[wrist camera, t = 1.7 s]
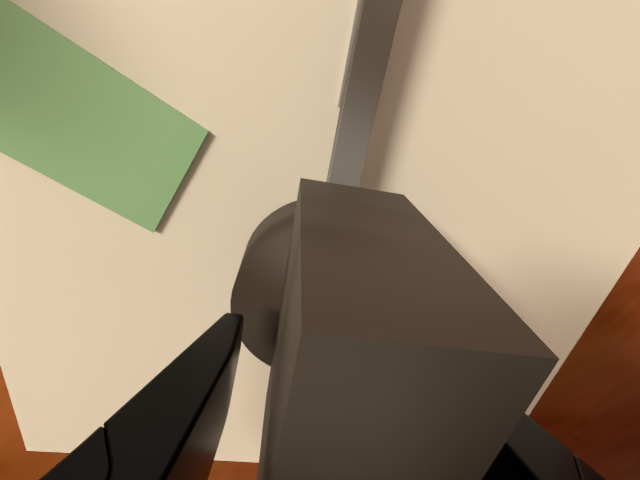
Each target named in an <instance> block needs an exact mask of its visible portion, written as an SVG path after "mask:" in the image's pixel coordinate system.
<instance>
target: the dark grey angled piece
mask: <svg viewBox="0 0 640 480" xmlns="http://www.w3.org/2000/svg"><path fill="white" fill-rule="evenodd" d="M402 1H403V0H361V2H360V8H359V13H358V18H357V23H356V29H355V34H354V39H353V44H352V50H351V55H350V60H349V65H348V70H347V76H346V81H345V86H344V91H343V97H342V102H341V107H340V112H339V117H338V123H337V128H336V133H335V138H334V144H333V149H332V154H331V159H330V165H329V170H328V175H327V180H326V182H323V181H317V180H311V179H305V178H300V184H299V190H298V197H297V201H294V202H291V203H289V204H286V205H284V206H282V207H280V208H279V209H277V210H275V211H274V212H272V213H271V214H270V215H268V216H267V217H266V218H265V219H264V220H263V221H262V222H261V223H260V224H259V225H258V226H257V228H256V229H255V231H254V232H253V233H252V235H251V237H250V239H249V241H248V244H247V247H246V250H245V253H244V256H243V259H242V262H241V265H240V268H239V271H238V274H237V277H236V280H235V283H234V286H233V289H232V294H231V300H230V311H231V313H235V314H242V315H243V317H244V321H243V331H242V343H243V344H244V345H245V347H246V348H247V349H248V350H249V351H250V352H251V353H252V354H253V355H254V356H255V357H257V358H258V359H259V360H260V361H262V362H264V363H265V364H267V365H268V366H270V367H271V369H270V375H269V381H268V388H267V394H266V402H265V411H264V420H263V429H262V439H261V448H260V457H259V466H258V476H257V480H482V478H483V477H484V475H485V474H486V472H487V471H488V469H489V468H490V466H491V464H492V463H493V461H494V460H495V458H496V457H497V455H498V454H499V452H500V450H501V449H502V447H503V446H504V444H505V443H506V441H507V440H508V438H509V437H510V435H511V433H512V432H513V430H514V429H515V427H516V426H517V424H518V423H519V421H520V420H521V418H522V416H523V415H524V413H525V412H526V410H527V409H528V407H529V406H530V404H531V402H532V401H533V399H534V398H535V396H536V395H537V393H538V392H539V390H540V389H541V387H542V385H543V384H544V382H545V381H546V379H547V378H548V376H549V375H550V373H551V372H552V370H553V368H554V367H555V365H556V364H557V362H558V361H559V358H558V357H557V356H556V355H555V354H554V353H553V352H552V351H551V350H550V348H549V347H548V346H547V345H546V344H545V343H544V342H543V341H542V340H541V339H540V338H539V337H538V336H537V335H536V334H535V333H534V332H533V331H532V329H531V328H530V327H529V326H528V325H527V324H526V323H525V322H524V321H523V320H522V319H521V318H520V317H519V316H518V315H517V314H516V313H515V312H514V310H513V309H512V308H511V307H510V306H509V305H508V304H507V303H506V302H505V301H504V300H503V299H502V298H501V297H500V296H499V295H498V294H497V293H496V291H495V290H494V289H493V288H492V287H491V286H490V285H489V284H488V283H487V282H486V281H485V280H484V279H483V278H482V277H481V276H480V275H479V274H478V272H477V271H476V270H475V269H474V268H473V267H472V266H471V265H470V264H469V263H468V262H467V261H466V260H465V259H464V258H463V257H462V256H461V255H460V253H459V252H458V251H457V250H456V249H455V248H454V247H453V246H452V245H451V244H450V243H449V242H448V241H447V240H446V239H445V238H444V237H443V236H442V234H441V233H440V232H439V231H438V230H437V229H436V228H435V227H434V226H433V225H432V224H431V223H430V222H429V221H428V220H427V219H426V218H425V217H424V215H423V214H422V213H421V212H420V211H419V210H418V209H417V208H416V207H415V206H414V205H413V204H412V203H411V202H410V201H409V200H408V199H407V197H406V196H405V195H403V194H397V193H391V192H385V191H379V190H372V189H366V188H360V187H359V183H360V179H361V175H362V171H363V166H364V162H365V158H366V154H367V149H368V145H369V141H370V137H371V132H372V128H373V124H374V120H375V115H376V111H377V107H378V103H379V98H380V94H381V90H382V86H383V81H384V77H385V73H386V69H387V64H388V60H389V56H390V52H391V47H392V43H393V39H394V35H395V30H396V26H397V22H398V18H399V13H400V9H401V5H402Z"/></svg>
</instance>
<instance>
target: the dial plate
mask: <svg viewBox="0 0 640 480" xmlns="http://www.w3.org/2000/svg"><path fill="white" fill-rule="evenodd" d="M360 2H361V0H0V366H1V369H2V372H3V375H4V379H5V382H6V385H7V388H8V392H9V395H10V398H11V401H12V405H13V408H14V411H15V414H16V418H17V421H18V424H19V427H20V431H21V434H22V437H23V440H24V444H25V447H26V450H27V451H44V452H63V453H71V452H72V451H73V450H74V449H75V448H76V447H77V446H79V445H80V444H81V443H82V442H83V441H84V440H85V439H86V438H88V437H89V436H90V435H91V434H92V433H93V432H94V431H95V430H96V429H97V428H99V427H100V426H102V427H104V422H106V421H107V420H108V419H109V418H110V417H111V416H112V415H113V414H114V413H115V412H117V411H118V410H119V409H120V408H121V407H122V406H123V405H124V404H125V403H127V402H128V401H129V400H130V399H131V398H132V397H133V396H134V395H135V394H136V393H138V392H139V391H140V390H141V389H142V388H143V387H144V386H145V385H146V384H148V383H149V382H150V381H151V380H152V379H153V378H154V377H155V376H156V375H158V374H159V373H160V372H161V371H162V370H163V369H164V368H165V367H166V366H167V365H169V364H170V363H171V362H172V361H173V360H174V359H175V358H176V357H177V356H179V355H180V354H181V353H182V352H183V351H184V350H185V349H186V348H187V347H188V346H190V345H191V344H192V343H193V342H194V341H195V340H196V339H197V338H198V337H200V336H201V335H202V334H203V333H204V332H205V331H206V330H207V329H208V328H210V327H211V326H212V325H213V324H214V323H215V322H216V321H217V320H218V319H219V318H221V317H222V316H223V315H224V314H225V313H231V311H230V300H231V294H232V289H233V286H234V283H235V280H236V277H237V274H238V271H239V268H240V265H241V262H242V259H243V256H244V253H245V250H246V247H247V244H248V241H249V239H250V237H251V235H252V233H253V232H254V231H255V229H256V228H257V226H258V225H259V224H260V223H261V222H262V221H263V220H264V219H265V218H266V217H267V216H268V215H270V214H271V213H272V212H274V211H275V210H277V209H279V208H280V207H282V206H284V205H286V204H289V203H291V202H294V201H297V197H298V190H299V184H300V178H305V179H311V180H317V181H323V182H326V180H327V175H328V170H329V165H330V159H331V154H332V149H333V144H334V138H335V133H336V128H337V123H338V117H339V112H340V107H341V102H342V97H343V91H344V86H345V81H346V76H347V70H348V65H349V60H350V55H351V50H352V44H353V39H354V34H355V29H356V23H357V18H358V13H359V8H360ZM359 187H360V188H366V189H372V190H379V191H385V192H391V193H397V194H403V195H405V196H406V197H407V199H408V200H409V201H410V202H411V203H412V204H413V205H414V206H415V207H416V208H417V209H418V210H419V211H420V212H421V213H422V214H423V215H424V217H425V218H426V219H427V220H428V221H429V222H430V223H431V224H432V225H433V226H434V227H435V228H436V229H437V230H438V231H439V232H440V233H441V234H442V236H443V237H444V238H445V239H446V240H447V241H448V242H449V243H450V244H451V245H452V246H453V247H454V248H455V249H456V250H457V251H458V252H459V253H460V255H461V256H462V257H463V258H464V259H465V260H466V261H467V262H468V263H469V264H470V265H471V266H472V267H473V268H474V269H475V270H476V271H477V272H478V274H479V275H480V276H481V277H482V278H483V279H484V280H485V281H486V282H487V283H488V284H489V285H490V286H491V287H492V288H493V289H494V290H495V291H496V293H497V294H498V295H499V296H500V297H501V298H502V299H503V300H504V301H505V302H506V303H507V304H508V305H509V306H510V307H511V308H512V309H513V310H514V312H515V313H516V314H517V315H518V316H519V317H520V318H521V319H522V320H523V321H524V322H525V323H526V324H527V325H528V326H529V327H530V328H531V329H532V331H533V332H534V333H535V334H536V335H537V336H538V337H539V338H540V339H541V340H542V341H543V342H544V343H545V344H546V345H547V346H548V347H549V348H550V350H551V351H552V352H553V353H554V354H555V355H556V356H557V357H558V358H559V361H558V362H557V364H556V365H555V367H554V368H553V370H552V372H551V373H550V375H549V376H548V378H547V379H546V381H545V382H544V384H543V385H542V387H541V389H540V390H539V392H538V393H537V395H536V396H535V398H534V399H533V401H532V402H531V404H530V406H529V407H528V409H527V410H526V412H525V414H527V415H528V416H529V414H530V413H531V411H532V410H533V408H534V407H535V405H536V404H537V402H538V401H539V399H540V398H541V396H542V395H543V393H544V392H545V390H546V389H547V387H548V386H549V384H550V382H551V381H552V379H553V378H554V376H555V375H556V373H557V372H558V370H559V369H560V367H561V366H562V364H563V363H564V361H565V360H566V358H567V357H568V355H569V354H570V352H571V350H572V349H573V347H574V346H575V344H576V343H577V341H578V340H579V338H580V337H581V335H582V334H583V332H584V331H585V329H586V328H587V326H588V325H589V323H590V322H591V320H592V319H593V317H594V315H595V314H596V312H597V311H598V309H599V308H600V306H601V305H602V303H603V302H604V300H605V299H606V297H607V296H608V294H609V293H610V291H611V290H612V288H613V287H614V285H615V283H616V282H617V280H618V279H619V277H620V276H621V274H622V273H623V271H624V270H625V268H626V267H627V265H628V264H629V262H630V261H631V259H632V258H633V256H634V255H635V253H636V251H637V250H638V248H639V247H640V0H403V1H402V5H401V9H400V13H399V18H398V22H397V26H396V30H395V35H394V39H393V43H392V47H391V52H390V56H389V60H388V64H387V69H386V73H385V77H384V81H383V86H382V90H381V94H380V98H379V103H378V107H377V111H376V115H375V120H374V124H373V128H372V132H371V137H370V141H369V145H368V149H367V154H366V158H365V162H364V166H363V171H362V175H361V179H360V183H359ZM270 369H271V367H270V366H268V365H267V364H265V363H264V362H262V361H260V360H259V359H258V358H257V357H255V356H254V355H253V354H252V353H251V352H250V351H249V350H248V349H247V348H246V347H245V345H244V344H243V343H242V341H241V348H240V354H239V359H238V364H237V370H236V375H235V380H234V385H233V391H232V396H231V401H230V406H229V410H228V415H227V419H226V422H225V426H224V429H223V432H222V435H221V438H220V442H219V445H218V448H217V451H216V454H215V458H214V460H220V461H240V462H259V457H260V448H261V439H262V429H263V420H264V411H265V402H266V394H267V388H268V381H269V375H270Z"/></svg>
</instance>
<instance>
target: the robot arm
mask: <svg viewBox="0 0 640 480" xmlns="http://www.w3.org/2000/svg"><path fill="white" fill-rule="evenodd" d="M243 321H244V317H243V315H242V314H235V313H225V314H224V315H223V316H222V317H221V318H219V319H218V320H217V321H216V322H215V323H214V324H213V325H212V326H211V327H210V328H208V329H207V330H206V331H205V332H204V333H203V334H202V335H201V336H200V337H198V338H197V339H196V340H195V341H194V342H193V343H192V344H191V345H190V346H188V347H187V348H186V349H185V350H184V351H183V352H182V353H181V354H180V355H179V356H177V357H176V358H175V359H174V360H173V361H172V362H171V363H170V364H169V365H167V366H166V367H165V368H164V369H163V370H162V371H161V372H160V373H159V374H158V375H156V376H155V377H154V378H153V379H152V380H151V381H150V382H149V383H148V384H146V385H145V386H144V387H143V388H142V389H141V390H140V391H139V392H138V393H136V394H135V395H134V396H133V397H132V398H131V399H130V400H129V401H128V402H127V403H125V404H124V405H123V406H122V407H121V408H120V409H119V410H118V411H117V412H115V413H114V414H113V415H112V416H111V417H110V418H109V419H108V420H107V421H106V422H104V427H102V426H100V427H99V428H97V429H96V430H95V431H94V432H93V433H92V434H91V435H90V436H89V437H88V438H86V439H85V440H84V441H83V442H82V443H81V444H80V445H79V446H77V447H76V448H75V449H74V450H73V451H72V452H71V453H69V454H68V455H67V456H66V457H65V458H64V459H62V460H61V461H60V462H59V463H58V464H57V465H56V466H54V467H53V468H52V469H51V470H50V471H49V472H47V473H46V474H45V475H44V476H43V477H42V478H40V479H39V480H208V477H209V473H210V470H211V467H212V464H213V461H214V458H215V454H216V451H217V448H218V445H219V442H220V438H221V435H222V432H223V429H224V426H225V422H226V419H227V415H228V410H229V406H230V401H231V396H232V391H233V385H234V380H235V375H236V370H237V364H238V359H239V354H240V348H241V341H242V331H243ZM482 480H606V479H604V478H603V477H602V476H601V475H599V474H598V473H597V472H596V471H594V470H593V469H592V468H591V467H590V466H588V465H587V464H586V463H585V462H584V461H582V460H581V459H580V458H579V457H578V456H573V453H572V452H571V451H570V450H569V449H568V448H567V447H565V446H564V445H563V444H562V443H561V442H559V441H558V440H557V439H556V438H554V437H553V436H552V435H551V434H550V433H548V432H547V431H546V430H545V429H544V428H542V427H541V426H540V425H539V424H537V423H536V422H535V421H534V420H533V419H531V418H530V417H529V416H528V415H527V414H525V413H524V415H523V416H522V418H521V420H520V421H519V423H518V424H517V426H516V427H515V429H514V430H513V432H512V433H511V435H510V437H509V438H508V440H507V441H506V443H505V444H504V446H503V447H502V449H501V450H500V452H499V454H498V455H497V457H496V458H495V460H494V461H493V463H492V464H491V466H490V468H489V469H488V471H487V472H486V474H485V475H484V477H483V478H482Z"/></svg>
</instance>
